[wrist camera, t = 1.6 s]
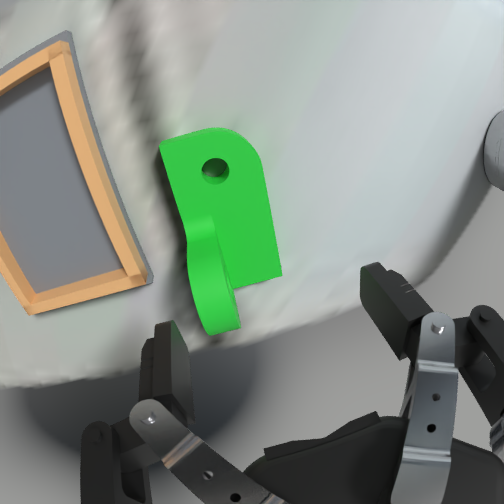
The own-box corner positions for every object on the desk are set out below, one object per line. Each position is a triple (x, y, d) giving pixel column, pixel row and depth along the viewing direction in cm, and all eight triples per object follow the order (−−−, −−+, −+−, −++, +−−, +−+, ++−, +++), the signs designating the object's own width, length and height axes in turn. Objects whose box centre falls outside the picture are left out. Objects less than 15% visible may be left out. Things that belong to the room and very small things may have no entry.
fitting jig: (71, 32, 14) (57, 27, 12) (153, 275, 24) (151, 294, 22) (-45, 108, 13) (-63, 114, 11) (43, 306, 24) (34, 323, 22)
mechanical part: (276, 262, 26) (305, 328, 19) (206, 280, 26) (215, 352, 19) (248, 118, 20) (278, 138, 13) (162, 140, 20) (144, 172, 13)
